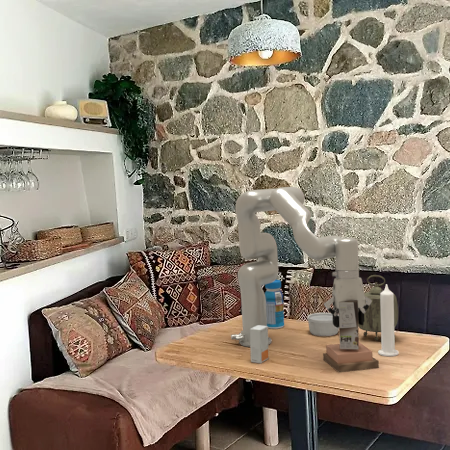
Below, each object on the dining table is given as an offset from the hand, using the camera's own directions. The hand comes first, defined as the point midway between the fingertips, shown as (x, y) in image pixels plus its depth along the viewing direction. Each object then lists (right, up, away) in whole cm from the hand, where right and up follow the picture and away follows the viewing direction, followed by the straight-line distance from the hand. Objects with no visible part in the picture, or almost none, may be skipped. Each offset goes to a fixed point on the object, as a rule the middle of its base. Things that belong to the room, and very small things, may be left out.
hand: (348, 325), depth 202 cm
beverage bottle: (-20, -10, +55) cm, 59 cm away
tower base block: (+1, -14, +1) cm, 14 cm away
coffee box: (0, -7, +1) cm, 7 cm away
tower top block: (0, -11, +1) cm, 11 cm away
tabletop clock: (+17, -10, +29) cm, 35 cm away
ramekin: (-1, -10, +41) cm, 43 cm away
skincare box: (-29, -14, +9) cm, 34 cm away
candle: (+16, -12, +10) cm, 23 cm away
